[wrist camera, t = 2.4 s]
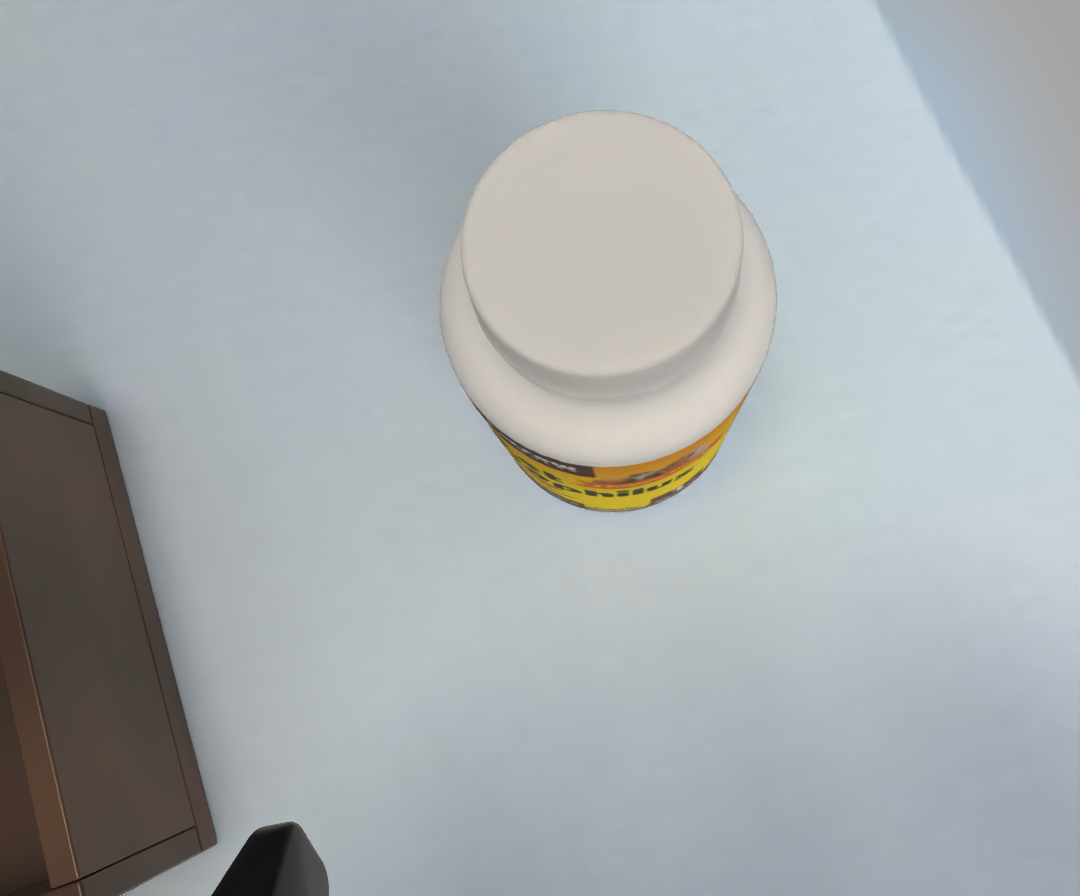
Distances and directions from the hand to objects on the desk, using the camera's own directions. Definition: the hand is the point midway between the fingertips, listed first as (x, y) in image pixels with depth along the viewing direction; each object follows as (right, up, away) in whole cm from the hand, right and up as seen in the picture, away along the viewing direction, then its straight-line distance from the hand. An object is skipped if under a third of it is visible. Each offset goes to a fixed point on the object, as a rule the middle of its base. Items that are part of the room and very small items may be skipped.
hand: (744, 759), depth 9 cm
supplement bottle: (0, +4, +14) cm, 14 cm away
